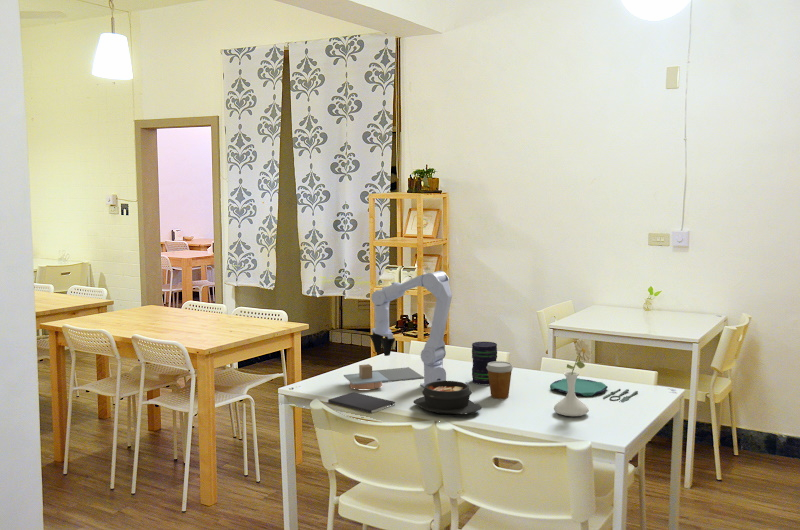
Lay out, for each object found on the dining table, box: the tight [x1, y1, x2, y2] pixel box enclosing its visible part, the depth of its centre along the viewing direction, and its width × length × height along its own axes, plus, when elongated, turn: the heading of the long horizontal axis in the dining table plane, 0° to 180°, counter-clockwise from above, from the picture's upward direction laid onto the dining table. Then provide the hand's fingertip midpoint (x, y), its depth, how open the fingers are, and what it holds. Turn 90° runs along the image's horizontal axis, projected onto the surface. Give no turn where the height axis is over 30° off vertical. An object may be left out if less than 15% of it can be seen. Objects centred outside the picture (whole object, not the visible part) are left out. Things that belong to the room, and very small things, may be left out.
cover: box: [343, 363, 389, 385], centre depth 286 cm, size 14×14×5 cm
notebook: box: [327, 391, 396, 414], centre depth 263 cm, size 13×2×21 cm
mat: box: [372, 366, 424, 383], centre depth 303 cm, size 18×18×1 cm
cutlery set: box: [549, 377, 639, 403], centre depth 274 cm, size 20×30×2 cm, turn 51°
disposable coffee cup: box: [486, 360, 514, 400], centre depth 269 cm, size 10×10×12 cm
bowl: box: [349, 381, 383, 390], centre depth 286 cm, size 12×12×3 cm
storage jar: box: [471, 341, 498, 386], centre depth 290 cm, size 10×10×15 cm
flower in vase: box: [553, 338, 592, 417], centre depth 246 cm, size 13×11×25 cm
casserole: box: [413, 380, 482, 415], centre depth 254 cm, size 25×19×8 cm
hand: (382, 353), depth 296 cm, fingers open, 7 cm apart
